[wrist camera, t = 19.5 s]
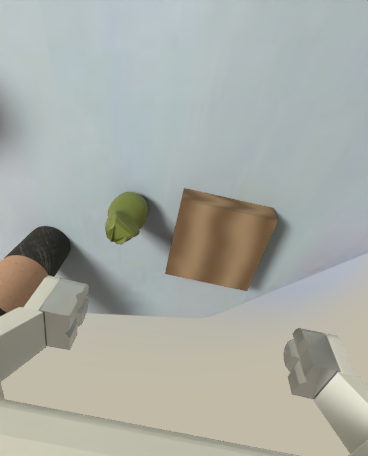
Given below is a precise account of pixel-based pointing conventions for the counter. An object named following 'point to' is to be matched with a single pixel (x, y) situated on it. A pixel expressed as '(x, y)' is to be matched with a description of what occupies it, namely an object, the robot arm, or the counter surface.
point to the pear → (126, 217)
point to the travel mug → (30, 266)
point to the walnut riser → (219, 239)
